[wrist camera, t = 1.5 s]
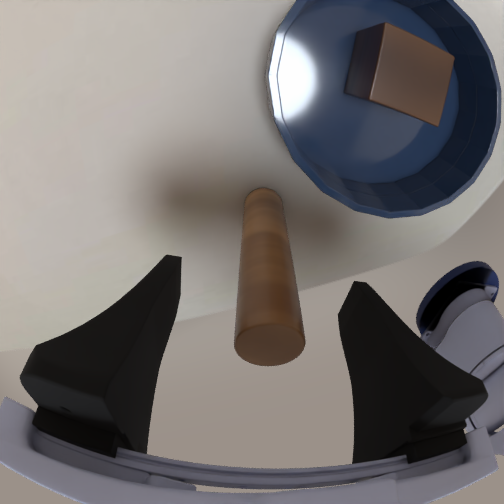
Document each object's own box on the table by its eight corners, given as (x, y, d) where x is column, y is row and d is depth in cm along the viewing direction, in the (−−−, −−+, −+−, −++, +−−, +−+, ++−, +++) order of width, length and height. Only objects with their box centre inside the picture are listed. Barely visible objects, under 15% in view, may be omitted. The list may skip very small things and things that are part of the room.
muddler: (278, 224, 19) (294, 369, 10) (241, 218, 19) (229, 363, 10) (285, 191, 18) (315, 327, 9) (247, 184, 18) (239, 319, 9)
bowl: (426, 203, 18) (458, 236, 15) (248, 163, 17) (245, 191, 13) (471, 42, 11) (515, 45, 7) (286, -35, 10) (296, -65, 6)
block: (403, 114, 14) (438, 127, 11) (342, 93, 14) (368, 99, 11) (417, 55, 12) (455, 56, 9) (356, 30, 12) (385, 21, 9)
